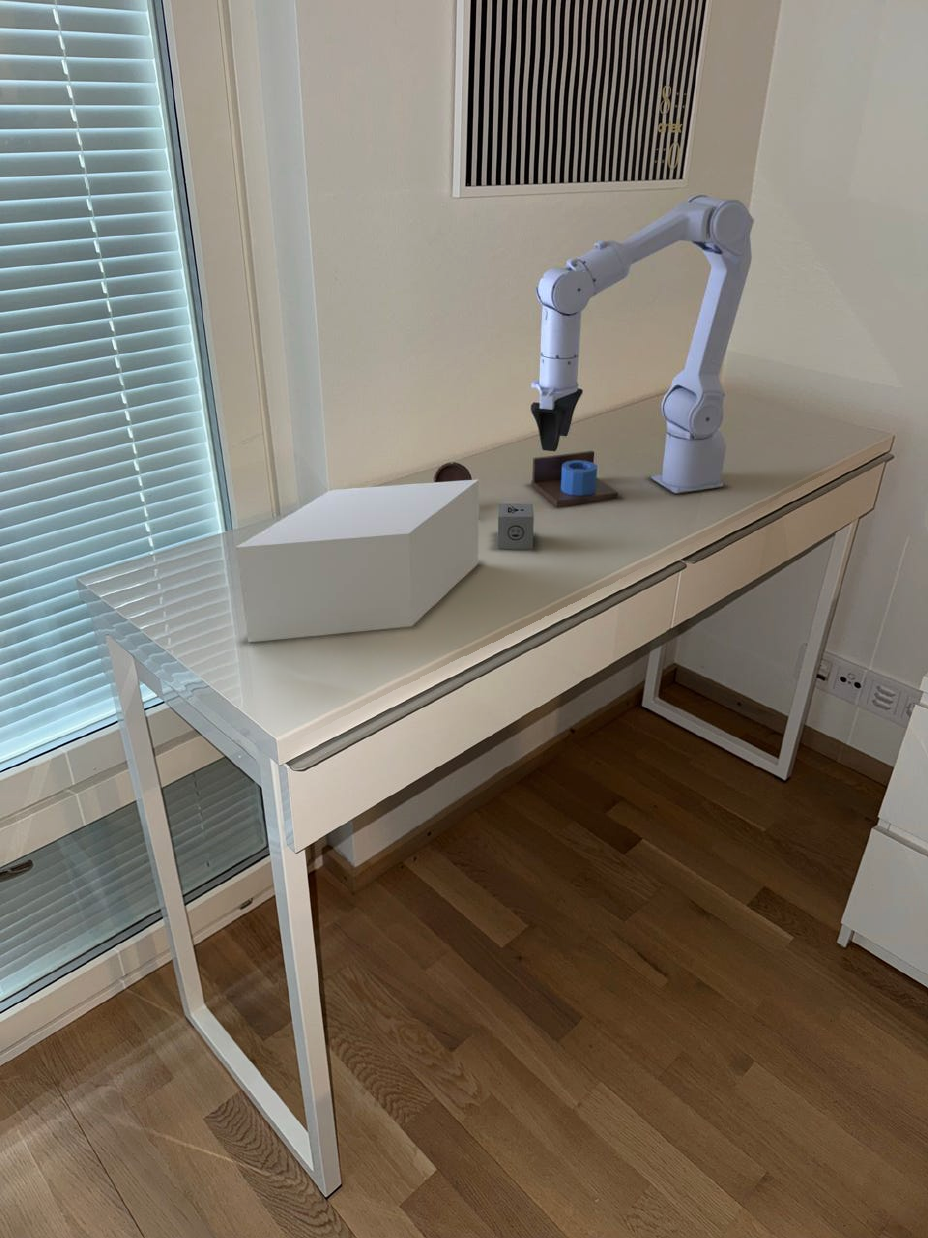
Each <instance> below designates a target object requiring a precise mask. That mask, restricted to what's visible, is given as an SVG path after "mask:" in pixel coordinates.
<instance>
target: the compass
mask: <svg viewBox="0 0 928 1238" xmlns="http://www.w3.org/2000/svg"><path fill="white" fill-rule="evenodd" d="M463 480H473V479H472V474H471V472H470V471H469V469H467V467H466V466H465V465H463V464H461V463H458V462H456V461H452V462H450V461H449V462H446V463H444V464H443V465H441V466H440V467H438V469H437V470H436V471H435V474H434V477H433V483H435V482H449V481H463Z"/></svg>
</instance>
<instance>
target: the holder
mask: <svg viewBox="0 0 928 1238" xmlns="http://www.w3.org/2000/svg"><path fill="white" fill-rule="evenodd" d="M574 460H581V461H588V462H592V463H594V462H595V461H594V460H595V451H594V450H588V451H580V452H570V453H563V454H562V453H561V454H555V455H554V454H553V455H548V456H540V457H533V458H532V474H531V481H530V483H531V484H530V486H531V487H532V488H533V489H534V490H535V491H537V492H538V493H539V494H540V495H542V496H543V497H544V498H545V499H546V500H548V501H549V502H550V503H551V504H552V505H554V507H556V508H559V507H565V506H573V505H580V504H587V503H593V502H600V501H607V500H613V499H614V500H615V499H618V497H619V492H618V491H617V490H615V489H614V488H613V487H611V486H609V485H608V484H607V483H605V482H604V481H603V480H601V479H599V478H598V476H597V477H596V490H595V492H594V493H592V494H590V495H584V496H578V495H570V494H567V493H564V492H563V491H562V490H561V476H562V465H563V463H565V462H567V461H574ZM594 464H595V463H594ZM576 470H584V469H576Z"/></svg>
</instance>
